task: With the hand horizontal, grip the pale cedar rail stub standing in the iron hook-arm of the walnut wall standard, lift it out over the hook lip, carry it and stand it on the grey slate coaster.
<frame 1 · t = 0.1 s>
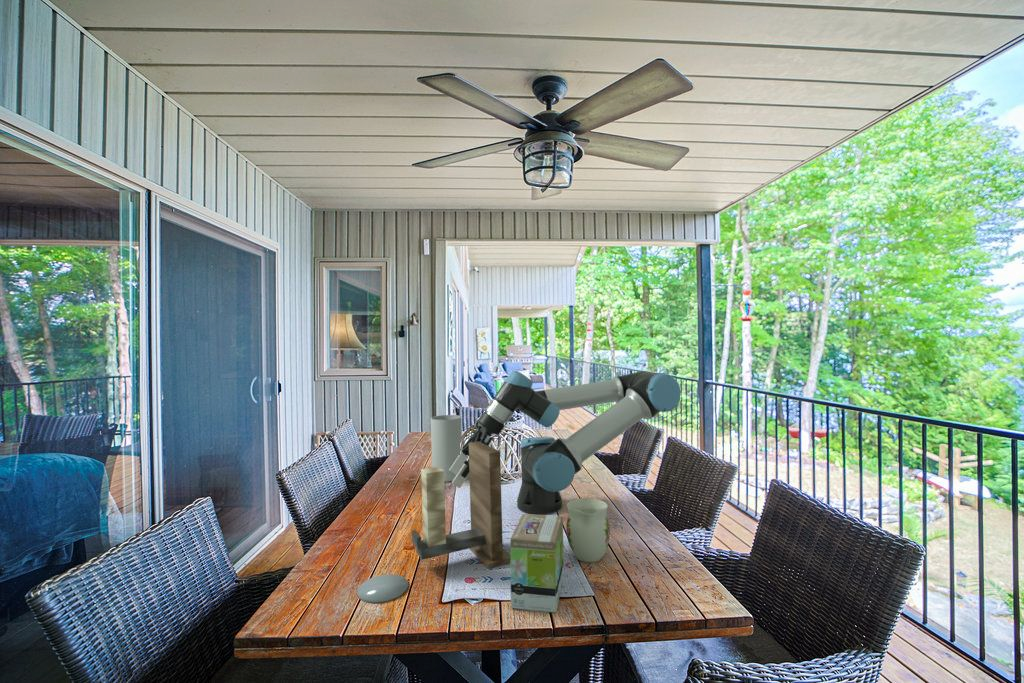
hand: (454, 478, 136), 15 cm above the table, tool tilted 35°, fingers open, 12 cm apart
pitcher: (588, 555, 119), on the table
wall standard: (435, 565, 115), on the table
cedar rail: (434, 541, 115), point 6 cm above the table, touching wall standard
tea box: (538, 593, 102), on the table
cylinder vase: (447, 478, 190), on the table
slate coaster: (383, 589, 105), on the table
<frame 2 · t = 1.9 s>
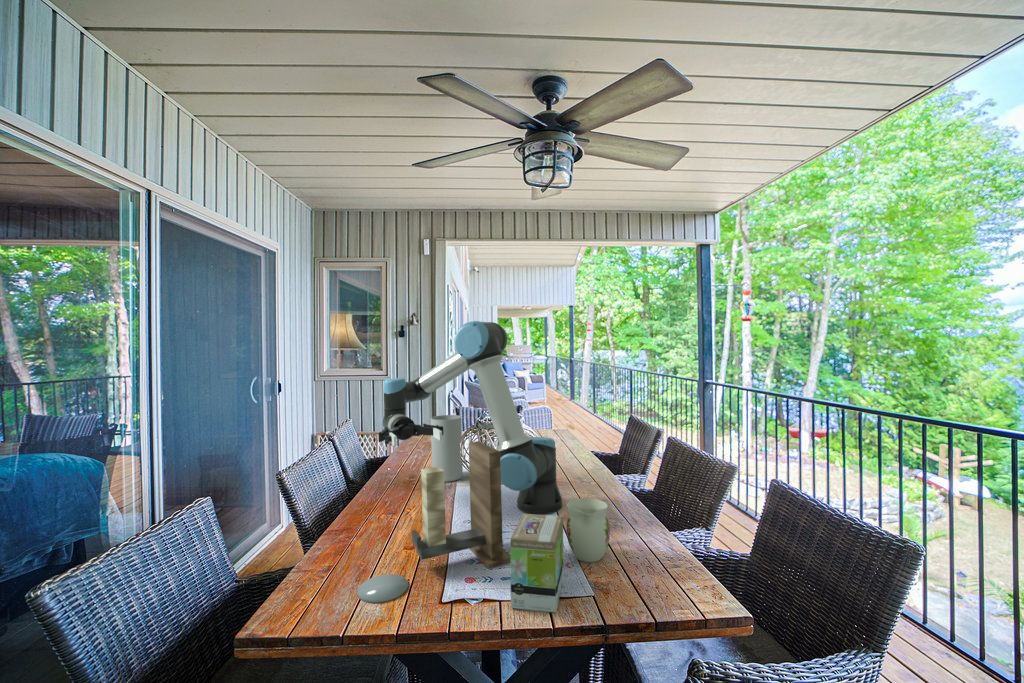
hand: (418, 438, 135), 28 cm above the table, tool horizontal, fingers open, 13 cm apart
nothing on the table moved.
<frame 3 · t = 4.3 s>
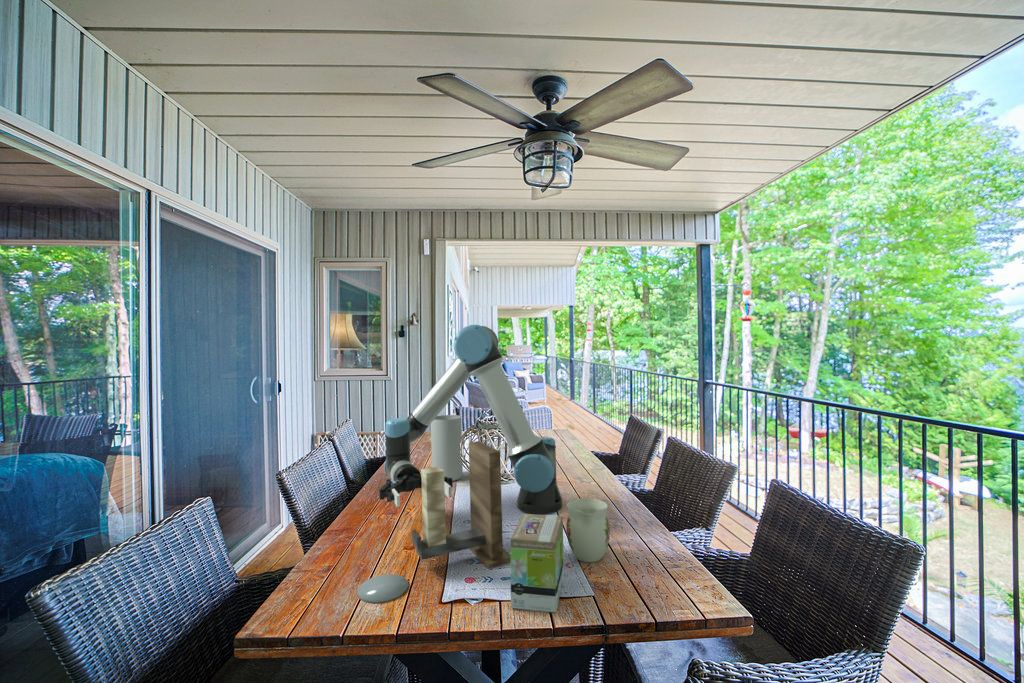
hand: (424, 496, 119), 16 cm above the table, tool horizontal, fingers open, 13 cm apart
nothing on the table moved.
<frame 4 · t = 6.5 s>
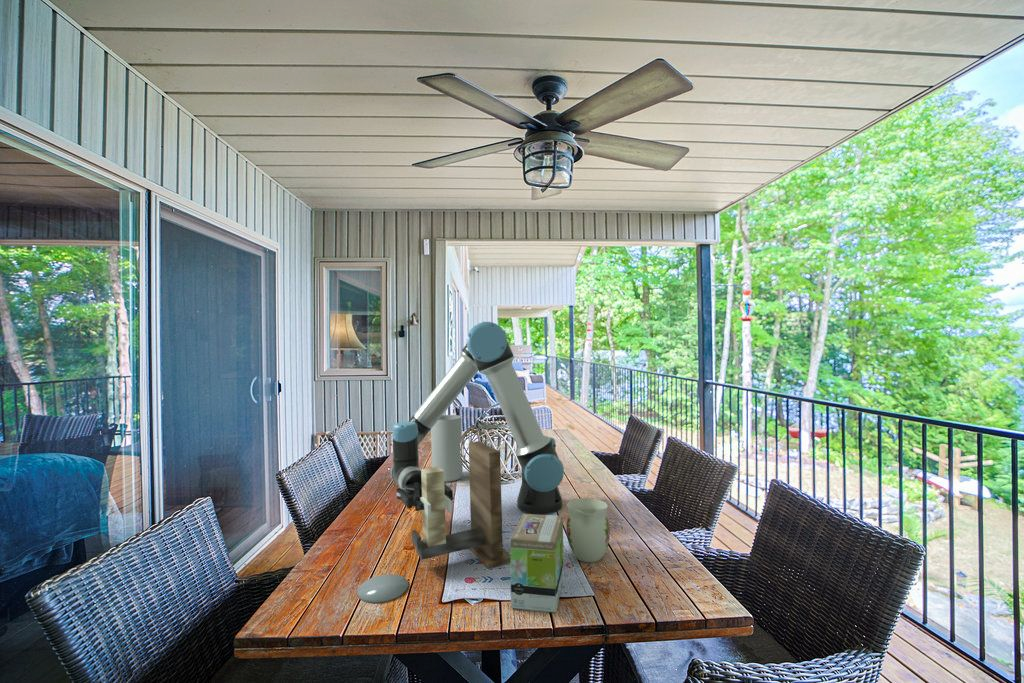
hand: (439, 508, 110), 16 cm above the table, tool horizontal, fingers closed on cedar rail, 4 cm apart
cedar rail: (434, 541, 115), point 6 cm above the table, touching gripper, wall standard
everything else where it was.
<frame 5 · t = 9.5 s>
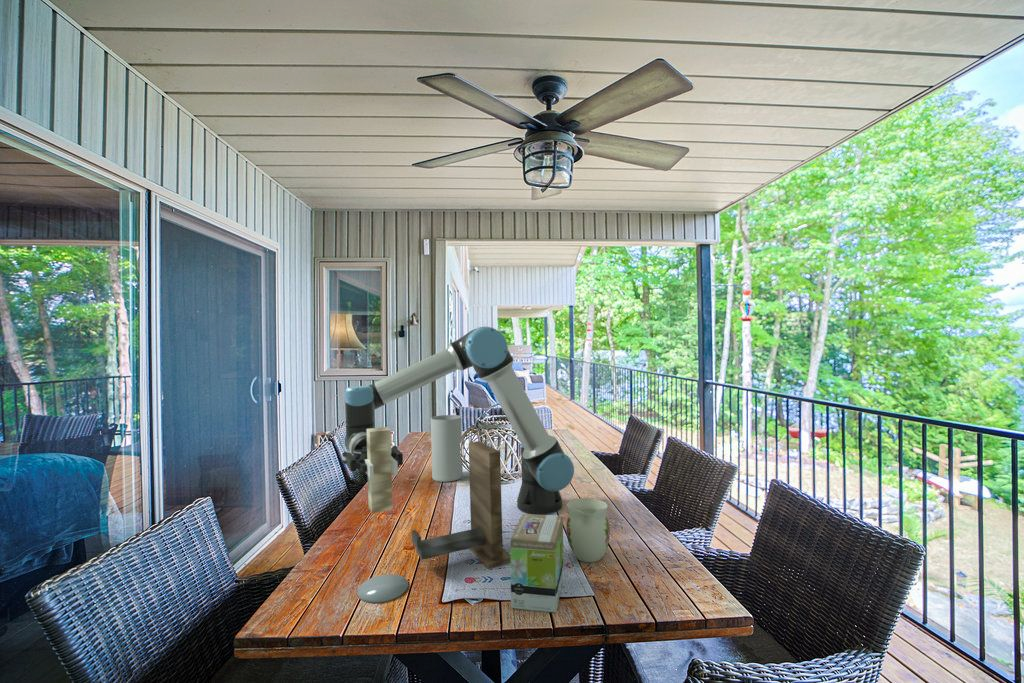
hand: (383, 470, 100), 28 cm above the table, tool horizontal, fingers closed on cedar rail, 4 cm apart
cedar rail: (380, 508, 105), point 18 cm above the table, touching gripper
everything else where it was.
when the fingers open (12 cm above the table, at t = 12.6 s): cedar rail drops 1 cm, resting on slate coaster.
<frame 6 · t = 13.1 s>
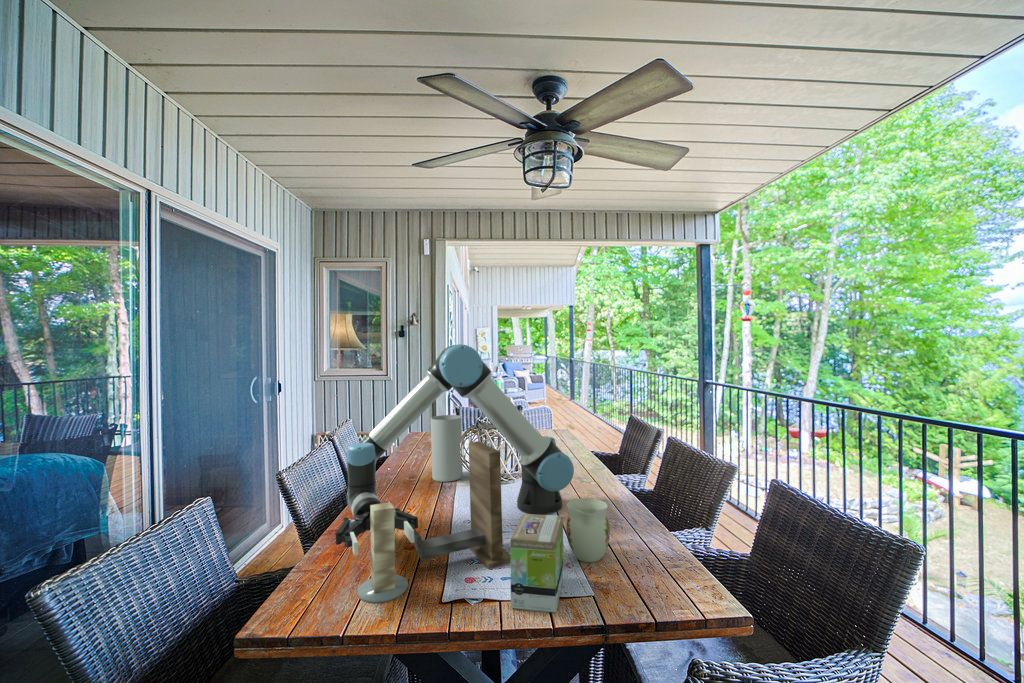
hand: (385, 542, 101), 12 cm above the table, tool horizontal, fingers open, 11 cm apart
cedar rail: (383, 586, 105), point 1 cm above the table, touching slate coaster
everything else where it was.
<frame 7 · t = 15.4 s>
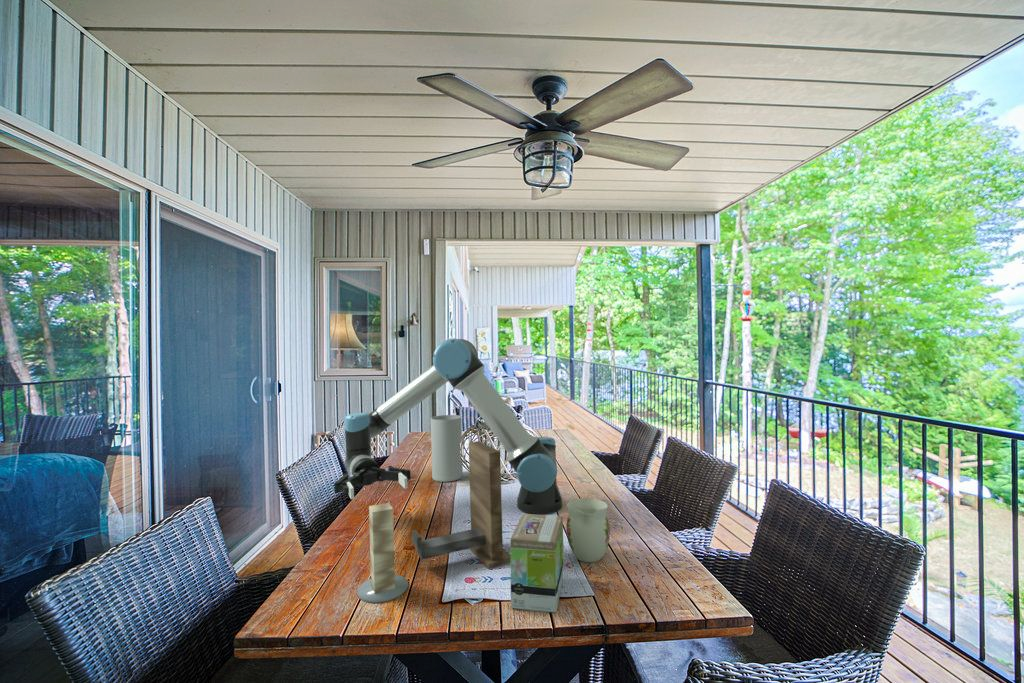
hand: (379, 488, 119), 19 cm above the table, tool horizontal, fingers open, 13 cm apart
nothing on the table moved.
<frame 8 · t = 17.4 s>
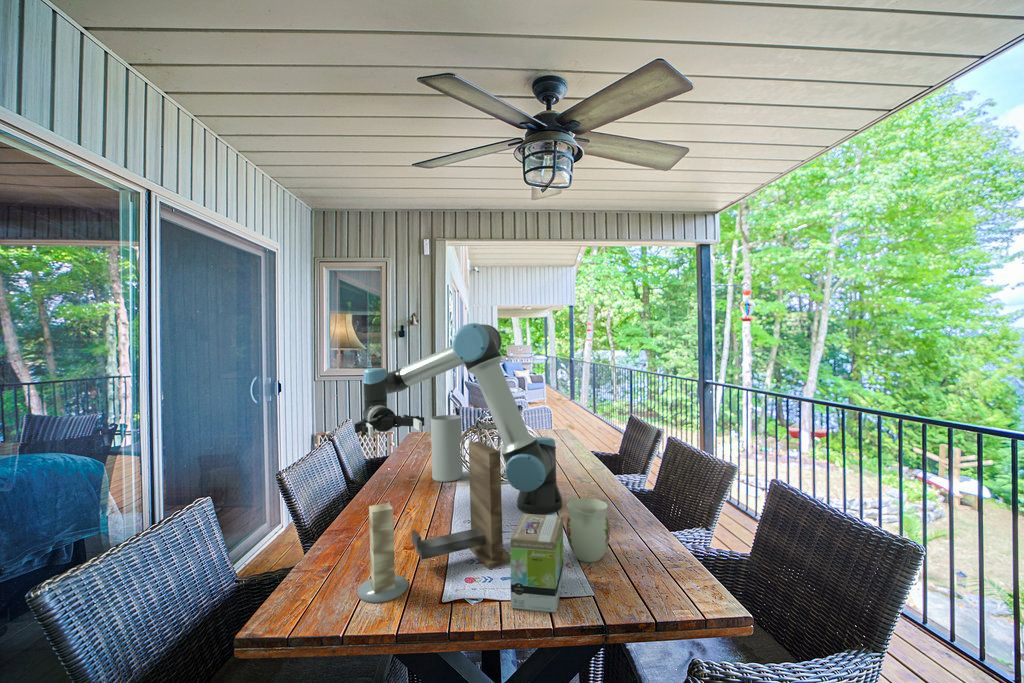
hand: (396, 428, 129), 32 cm above the table, tool horizontal, fingers open, 13 cm apart
nothing on the table moved.
at the end: cedar rail inside the target area on the slate coaster (0.1 cm from its centre), point 0.6 cm above the slate coaster's base; cedar rail tilted 0°; the gripper is holding nothing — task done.
